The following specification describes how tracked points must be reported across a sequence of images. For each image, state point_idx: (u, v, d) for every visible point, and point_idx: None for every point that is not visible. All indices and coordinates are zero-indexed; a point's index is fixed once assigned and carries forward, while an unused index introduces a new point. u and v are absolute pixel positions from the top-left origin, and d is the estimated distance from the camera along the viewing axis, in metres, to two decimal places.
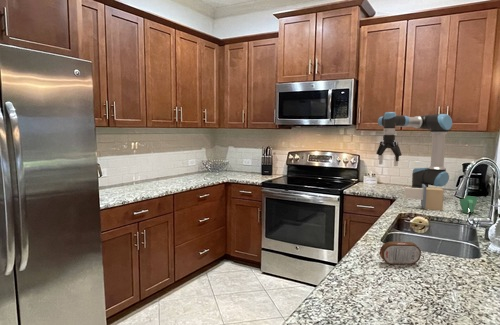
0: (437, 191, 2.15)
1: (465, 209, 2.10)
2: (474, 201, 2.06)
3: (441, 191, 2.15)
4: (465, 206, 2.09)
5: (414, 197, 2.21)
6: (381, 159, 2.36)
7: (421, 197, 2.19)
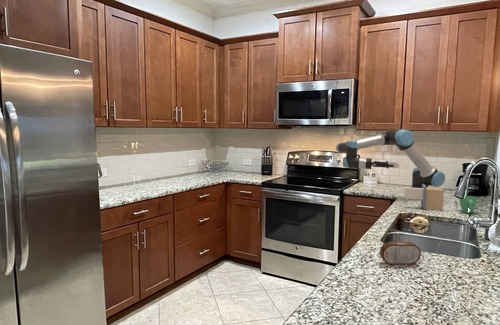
0: (437, 191, 2.15)
1: (465, 209, 2.10)
2: (474, 201, 2.06)
3: (441, 191, 2.15)
4: (465, 206, 2.09)
5: (414, 197, 2.21)
6: (392, 163, 2.32)
7: (421, 197, 2.19)
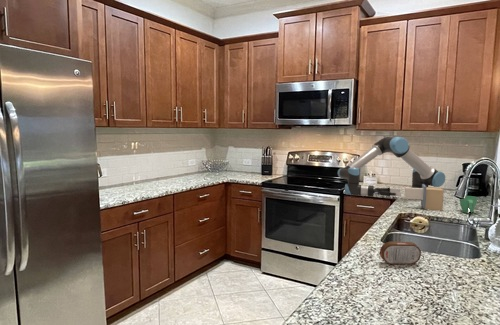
0: (437, 191, 2.15)
1: (465, 209, 2.10)
2: (474, 201, 2.06)
3: (441, 191, 2.15)
4: (465, 206, 2.09)
5: (414, 197, 2.21)
6: (394, 190, 2.32)
7: (421, 197, 2.19)
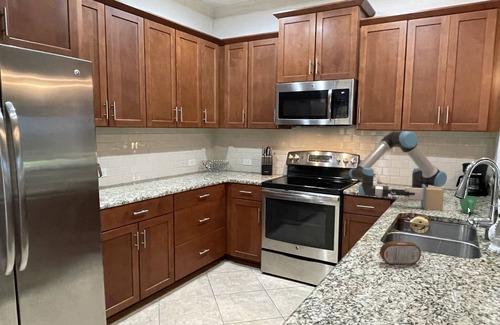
0: (437, 191, 2.15)
1: (465, 209, 2.10)
2: (474, 201, 2.06)
3: (441, 191, 2.15)
4: (465, 206, 2.09)
5: (414, 197, 2.21)
6: None
7: (421, 197, 2.19)
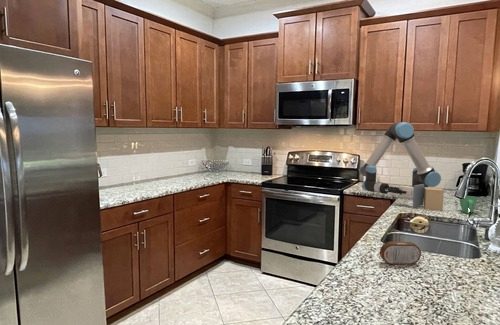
0: (437, 191, 2.15)
1: (465, 209, 2.10)
2: (474, 201, 2.06)
3: (441, 191, 2.15)
4: (465, 206, 2.09)
5: (407, 195, 2.26)
6: None
7: None
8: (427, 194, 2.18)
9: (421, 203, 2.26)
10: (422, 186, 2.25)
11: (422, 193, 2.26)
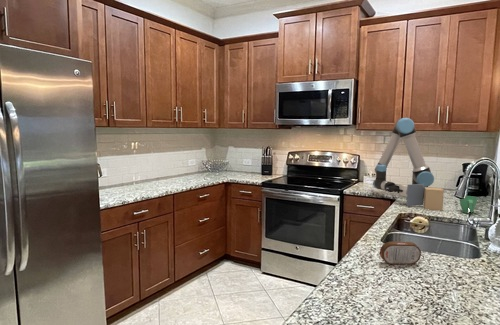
0: (437, 191, 2.15)
1: (465, 209, 2.10)
2: (474, 201, 2.06)
3: (441, 191, 2.15)
4: (465, 206, 2.09)
5: (404, 194, 2.31)
6: None
7: None
8: (427, 194, 2.18)
9: (420, 203, 2.27)
10: (421, 186, 2.26)
11: (421, 193, 2.27)
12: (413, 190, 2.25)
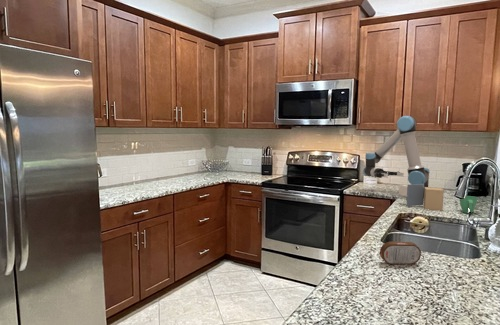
0: (437, 191, 2.15)
1: (465, 209, 2.10)
2: (474, 201, 2.06)
3: (441, 191, 2.15)
4: (465, 206, 2.09)
5: (404, 194, 2.31)
6: (399, 174, 2.48)
7: None
8: (427, 194, 2.18)
9: (420, 203, 2.27)
10: (421, 186, 2.26)
11: (421, 193, 2.27)
12: (413, 190, 2.25)
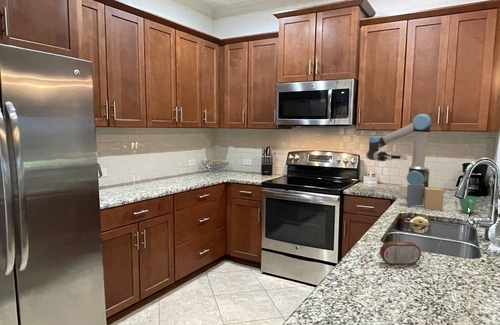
0: (437, 191, 2.15)
1: (465, 209, 2.10)
2: (474, 201, 2.06)
3: (441, 191, 2.15)
4: (465, 206, 2.09)
5: (404, 194, 2.31)
6: (402, 157, 2.47)
7: None
8: (427, 194, 2.18)
9: (420, 203, 2.27)
10: (421, 186, 2.26)
11: (421, 193, 2.27)
12: (413, 190, 2.25)
